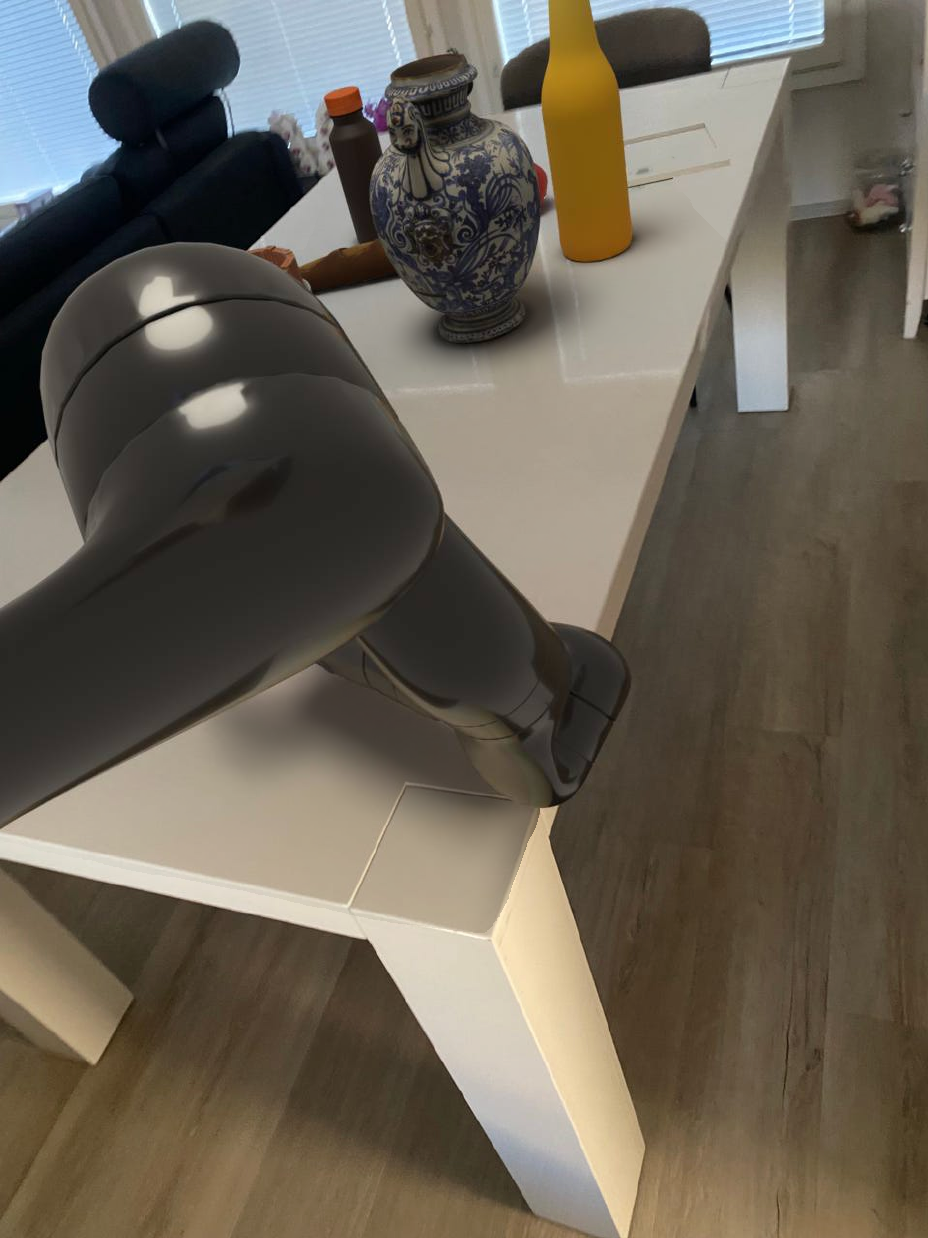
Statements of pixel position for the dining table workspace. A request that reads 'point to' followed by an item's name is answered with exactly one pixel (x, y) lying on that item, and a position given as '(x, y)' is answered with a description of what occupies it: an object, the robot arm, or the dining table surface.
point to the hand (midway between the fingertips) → (213, 553)
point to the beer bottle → (584, 138)
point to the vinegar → (354, 156)
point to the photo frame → (678, 172)
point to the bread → (348, 266)
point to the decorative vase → (455, 200)
